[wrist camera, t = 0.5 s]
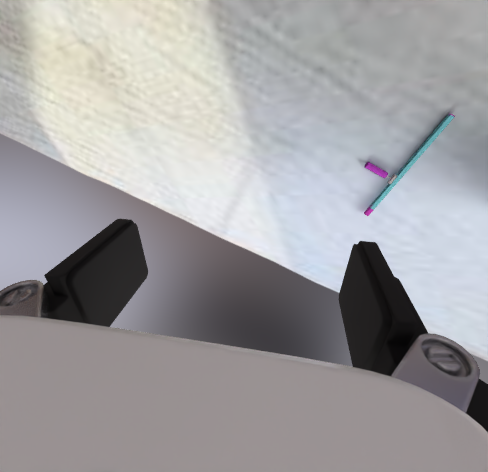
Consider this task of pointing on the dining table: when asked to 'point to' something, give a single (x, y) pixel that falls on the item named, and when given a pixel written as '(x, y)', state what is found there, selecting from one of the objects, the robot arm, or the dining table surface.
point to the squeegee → (407, 166)
